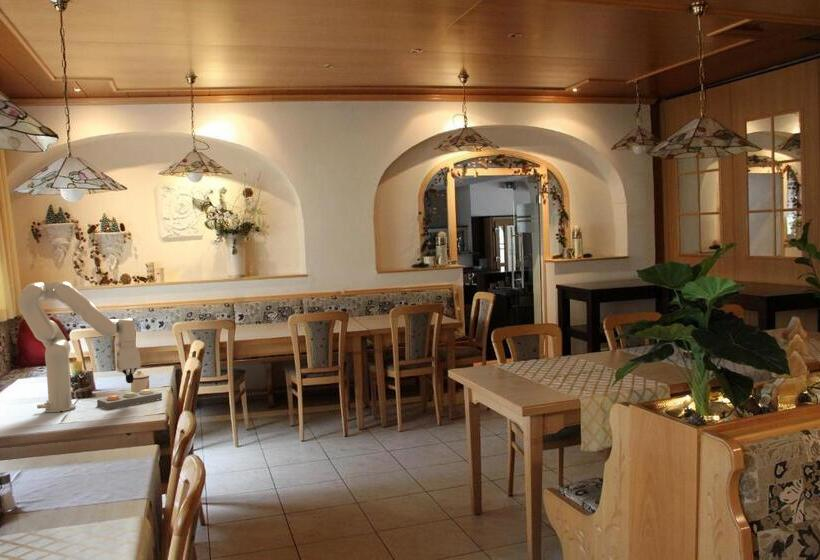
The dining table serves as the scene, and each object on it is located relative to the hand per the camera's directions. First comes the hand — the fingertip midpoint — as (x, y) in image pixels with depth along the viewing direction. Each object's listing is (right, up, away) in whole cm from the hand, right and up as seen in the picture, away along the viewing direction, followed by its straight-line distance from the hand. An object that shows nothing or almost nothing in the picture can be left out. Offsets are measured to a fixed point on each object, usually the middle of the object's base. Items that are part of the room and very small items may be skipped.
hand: (129, 382), depth 332 cm
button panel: (0, -10, 0) cm, 10 cm away
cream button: (+5, -8, +6) cm, 11 cm away
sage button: (0, -8, 0) cm, 8 cm away
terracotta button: (-5, -9, -5) cm, 12 cm away
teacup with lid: (-3, -9, +22) cm, 24 cm away
